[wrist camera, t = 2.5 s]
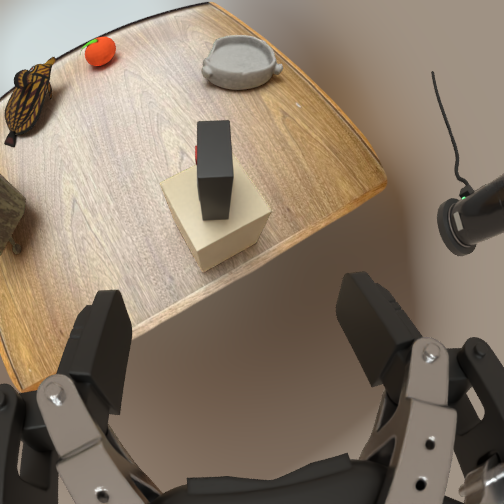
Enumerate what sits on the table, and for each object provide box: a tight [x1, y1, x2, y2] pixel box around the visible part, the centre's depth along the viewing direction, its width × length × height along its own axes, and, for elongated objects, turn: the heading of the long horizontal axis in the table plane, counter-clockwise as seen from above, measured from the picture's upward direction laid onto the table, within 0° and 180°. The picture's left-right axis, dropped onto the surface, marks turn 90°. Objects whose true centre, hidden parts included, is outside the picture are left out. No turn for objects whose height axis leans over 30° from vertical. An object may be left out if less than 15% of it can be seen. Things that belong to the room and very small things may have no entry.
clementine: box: [80, 37, 116, 66], centre depth 39 cm, size 8×7×7 cm
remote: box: [195, 120, 234, 221], centre depth 22 cm, size 3×5×8 cm, turn 5°
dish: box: [202, 35, 283, 90], centre depth 42 cm, size 14×14×5 cm
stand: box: [160, 153, 272, 273], centre depth 31 cm, size 8×8×11 cm
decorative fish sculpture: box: [4, 57, 56, 147], centre depth 33 cm, size 14×16×12 cm
